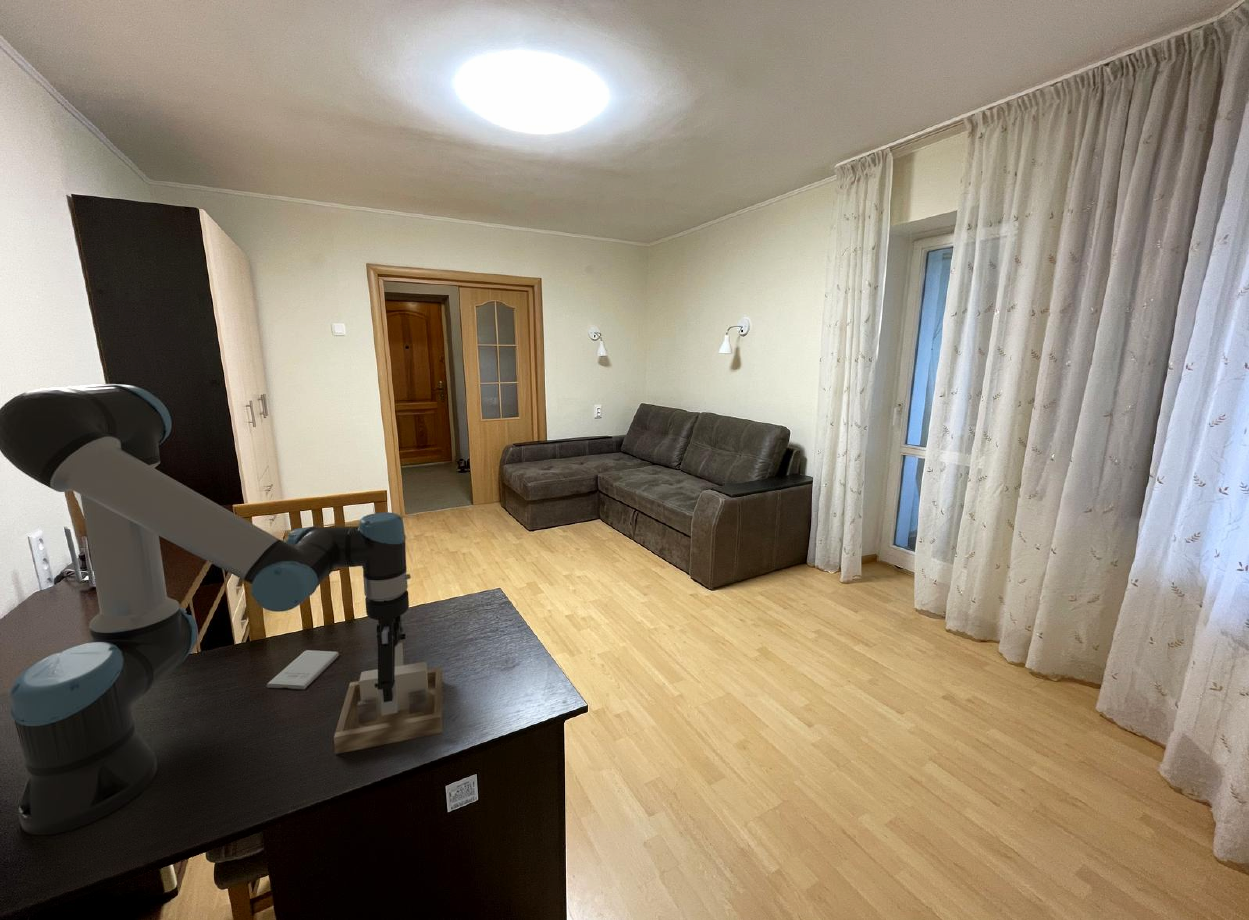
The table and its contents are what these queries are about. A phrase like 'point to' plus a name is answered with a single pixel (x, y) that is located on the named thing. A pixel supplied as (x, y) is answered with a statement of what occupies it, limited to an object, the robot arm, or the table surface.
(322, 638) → the table surface
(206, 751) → the table surface
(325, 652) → the external hard drive
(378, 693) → the beige rectangular block
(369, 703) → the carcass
